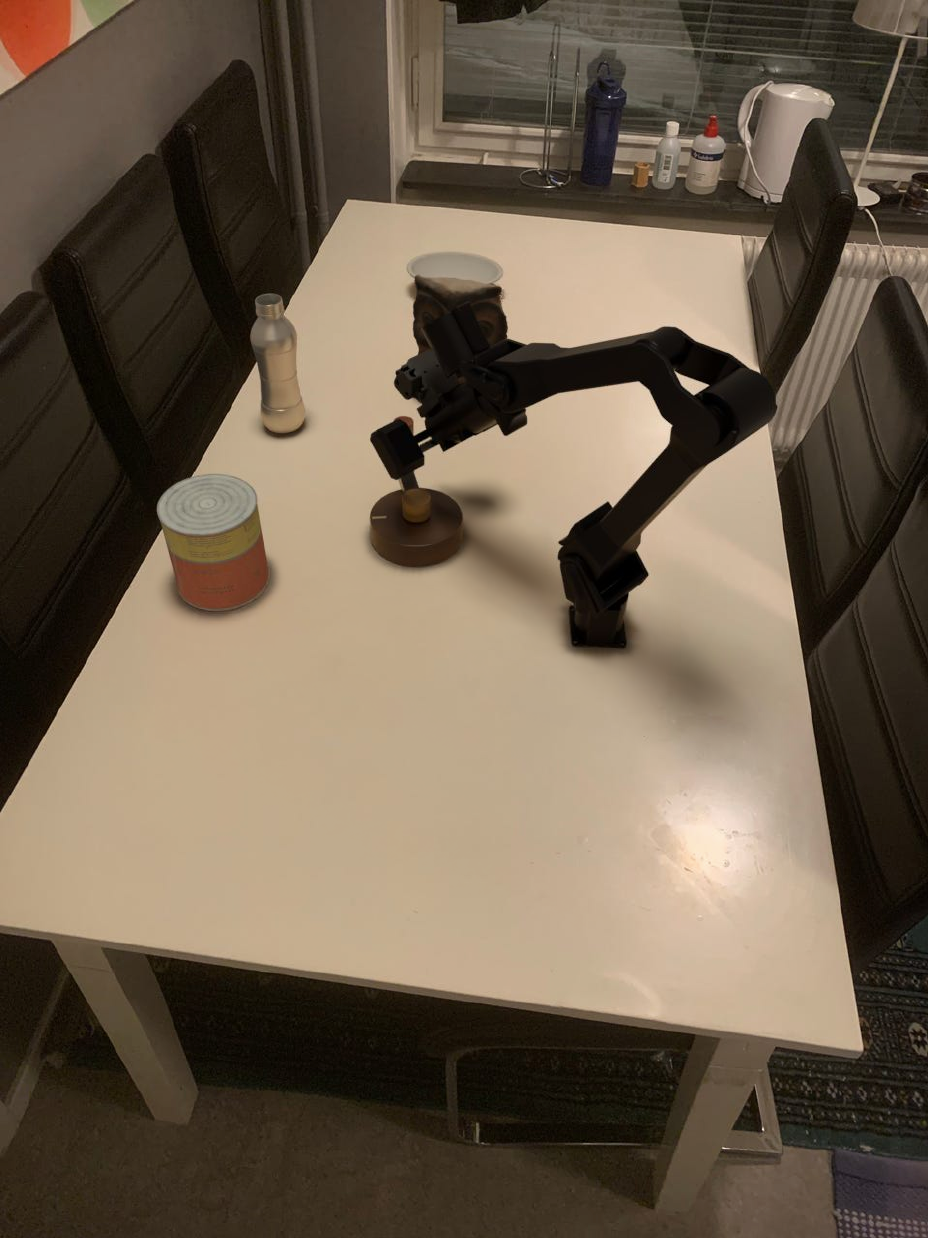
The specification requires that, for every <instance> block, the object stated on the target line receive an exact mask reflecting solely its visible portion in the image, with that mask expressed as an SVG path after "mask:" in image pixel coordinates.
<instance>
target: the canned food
mask: <svg viewBox="0 0 928 1238" xmlns="http://www.w3.org/2000/svg"><path fill="white" fill-rule="evenodd" d="M258 502H259V501H258V495H257V491H256V490H255V488H254V487H253V486H252V485H251V484H250V483H249V482H247V481H246V480H244V479H242V478H239V477H238V476H234V475H230V474H224V473H205V474H200V475H194V476H190V477H188V478H184V479H182V480H180V481H178V482H176V483H174V484H173V485H171V486H170V487H169V488H168V489H166V491H164V492H163V494H162V495H161V496H160V498H159V499H158V501H157V505H156V513H157V517H158V519H159V522H160V526H161V529H162V532H163V536H164V540H165V544H166V547H167V552H168V555H169V559H170V562H171V567H172V571H173V574H174V578H175V581H176V589H177V592H178V594H179V596H180V597H181V599H182V600H183V601H184V602H185V603H187V604H188V605H190V606H192V607H194V608H196V609H200V610H203V611H208V612H224V611H225V612H226V611H231V610H235V609H239V608H242V607H244V606H246V605H249V604H250V603H252V602H254V601H255V600H256V599H258V598H259V597H260V596H261V595H262V594H263V593H264V592H265V590H266V589H267V587H268V585H269V582H270V579H271V572H270V568H269V566H268V559H267V553H266V547H265V540H264V535H263V529H262V523H261V517H260V512H259V505H258Z"/></svg>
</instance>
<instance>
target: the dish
mask: <svg viewBox="0 0 928 1238" xmlns="http://www.w3.org/2000/svg"><path fill="white" fill-rule="evenodd" d="M405 269H406V272H407V273H408V275H409V276H410V277H412V278H413V279H415V276H416V275H420V276H421V277H432V278H438V277H443V278H458V279H461V280H473V281H476V282H480V283H484V284H490V285H494V283H497V282H498V281H500V280H501V279H502V278H503V275H504V269H503V267H502V265H500V264H499V263H498V262H496V261H495V260H493V259H491V258H488V257H486V256H483V255H480V254H476V253H471V252H465V251H464V252H463V251H434V252H429V253H424V254H420V255H418V256H414V257H413V258H411V259H410V260H409V261H408V262H407V264H406V268H405Z"/></svg>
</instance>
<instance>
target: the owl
mask: <svg viewBox="0 0 928 1238" xmlns="http://www.w3.org/2000/svg"><path fill="white" fill-rule="evenodd" d="M414 284H415V287H416V295H415V299H414V301H413V304H412V315H413V322H412V333H413V338H414V339H415V342H416V345H417V349H418V351H417V355H418V354H420V353H423V352H425V351H427V350H432V349H431V347H430V345H429V343H428V341H427V339H426V337H425V335H424V334H423V332H422V330H421V328H422V327H423V326H424V325H425V324H426V323H428V322H430V321H432V320H434V319H436V318H439V317H441V316H442V315H444V314H446V313H448V312H449V311H451V310H453V309H454V308H455V307H457V306H459V305H461V304H464V303H466V302H469V303H470V304H471V306H472V308H473V310H474V313H475V315H476V318H477V321H478V323H479V325H480V327H481V328H482V330H483V332H484V334H485V336H486V338H487V340H488V342H489V344H490V347H491V346H493V345H495V344H497V343H499V342H501V341H503V340H505V339H509V336H508V331H509V326H508V321H507V315H506V313H505V312H504V310H503V305H502V301H501V298H500V297H501V294H502V292H503V289H502V287H501V285H495V284H492V285H490V284H484V283H480V282H476V281H473V280H461V279H458V278H443V277H438V278H432V277H421V276H420V275H416V276H415V278H414ZM455 374H456V373H455ZM455 376H456V375H455ZM456 378H457V377H456ZM458 381H459V382H460V383H462V382H464V381H466V380H465V378H464V376H463V377H460V378H458Z"/></svg>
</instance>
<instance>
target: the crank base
mask: <svg viewBox="0 0 928 1238" xmlns="http://www.w3.org/2000/svg"><path fill="white" fill-rule="evenodd" d="M419 489H422V490H425V491H427V492H428V493H429V494H430V498H431V503H430V517H429V518H428V519H427V520H425V521H423V522H410V521H408V520H406V519H405V518H404V517H403V512H402V496H403V493H402V490H401V488H400V489H397V490H394V491H391V492H388V493H387V494H385V495H383V496H381V498H379V499H378V500H377V501H376V502H375V503H374V505H373V506H372V508H371V510H370V514H369V527H370V528H369V529H370V539H371V544H372V546H373V548H374V550H375V551H376V552H377V554H379V555H380V556H381V557H382V558H384V559H385V560H387V561H389V562H391V563H393V564H397V565H400V566H405V567H414V568H415V567H416V568H417V567H418V568H419V567H429V566H433V565H437V564H440V563H442V562H444V561H447V560H448V559H449V558H451V557H452V556H454V555H455V554H456V553H457V551H458V550H459V548H460V547H461V545H462V541H463V528H464V527H463V526H464V525H463V524H464V515H463V510H462V508H461V506H460V504H459V503H458V502H457V501H456V500H455V499H454V498H452V497H451V496H450V495H448V494H446V493H444V492H442V491H439V490H437V489H432V488H428V487H419Z"/></svg>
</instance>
